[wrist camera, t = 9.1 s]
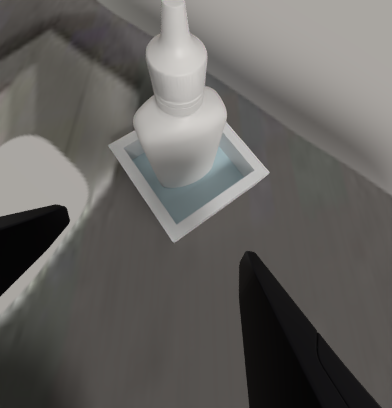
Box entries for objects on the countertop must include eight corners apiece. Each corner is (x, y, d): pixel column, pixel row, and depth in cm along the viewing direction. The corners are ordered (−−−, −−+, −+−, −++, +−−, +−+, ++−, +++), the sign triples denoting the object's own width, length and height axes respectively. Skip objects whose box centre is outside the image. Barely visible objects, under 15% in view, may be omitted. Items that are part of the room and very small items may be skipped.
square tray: (175, 242, 15) (173, 242, 13) (119, 158, 17) (107, 145, 14) (258, 182, 17) (269, 172, 14) (200, 112, 19) (201, 93, 16)
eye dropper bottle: (160, 148, 17) (96, -56, 5) (212, 154, 17) (264, -35, 5) (154, 187, 16) (57, 41, 4) (209, 193, 16) (265, 65, 4)
